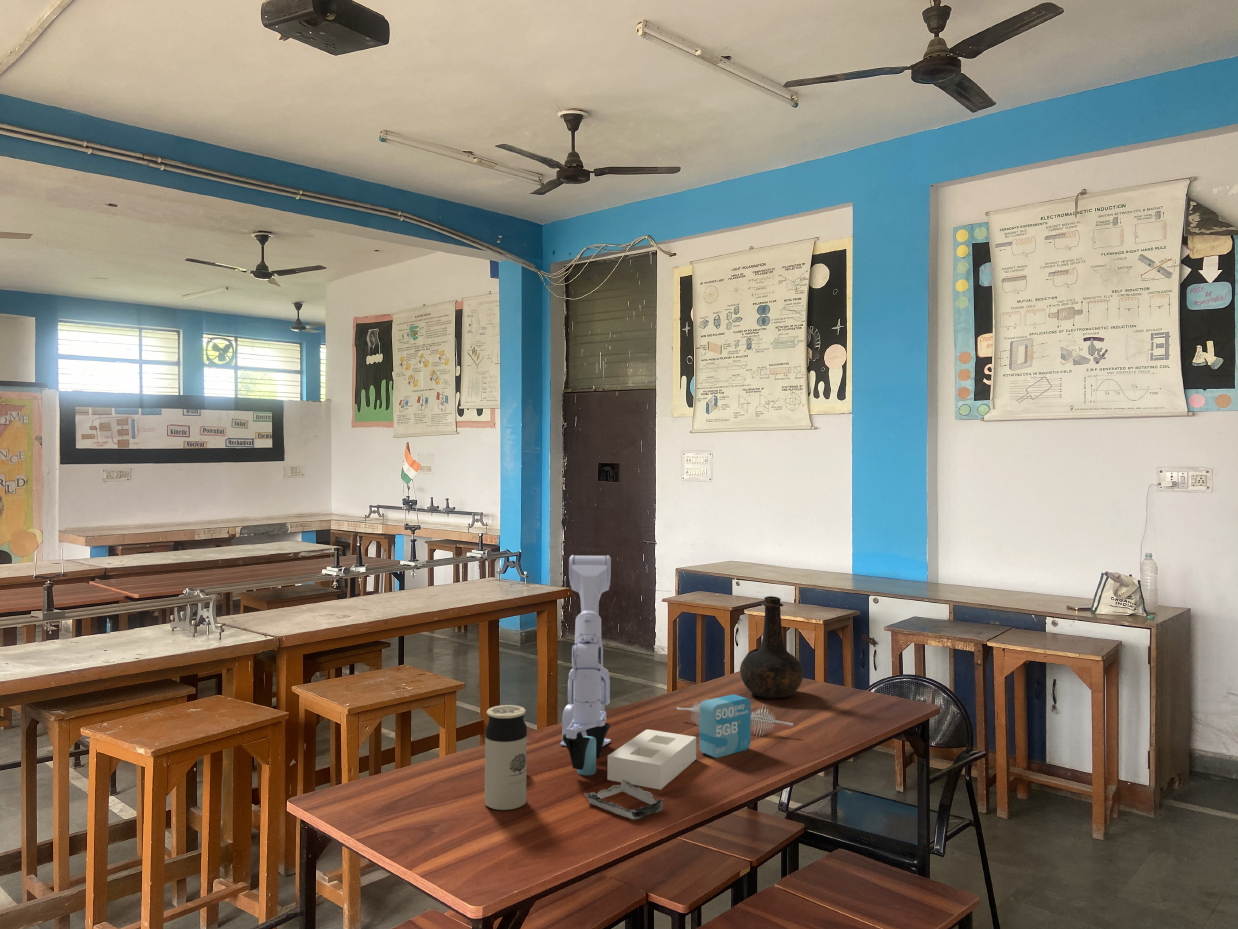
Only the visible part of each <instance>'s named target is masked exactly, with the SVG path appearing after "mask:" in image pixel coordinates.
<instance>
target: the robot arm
mask: <svg viewBox="0 0 1238 929" xmlns="http://www.w3.org/2000/svg"><path fill="white" fill-rule="evenodd" d="M570 555H571V556H569V559H568V579H569V586H570V587H571V590H572V591H574V592H575V593H578V594H579V598H580V613H579V614H578V615H577V616H576V617H575V624H574V625H575V627H574V629H575V630H574V645H572V648H571V666H572V668H571V669H570V671H569V673H568V680H567V705H565V707H564V709H563V711H562V717H561V731H562V732H561V742H560V744H559V745H560V746H565V747H566V748H567V751H568V753H569V757H570V761H571V765H572V768H573V769H574V770H577V769H579V770H582V769H583V767H584V761H585V753H586V748H587V745H588V742H589V740H590V738H587V737H583V736H591V737H594V738H596V759H600V758H601V753H602V751H603V747H604V746H605V745H606V746H607V745H608V744H609V743H611V742H612V740H611V739H610V738H606V736H607V734H608V732H609V730H610V728H611V723H608V722H606V721H607V711H605V709H606V708H605V706H608V705H609V704H610V701H611V693H610V692H611V680H610V672H609V669H607V668H605V667H604V648H603V647H604V646H603V641H602V640H603V639H602V617H601V616H600V615H599V611H600V606H599V605H600V603H599V602H600V599H601V596H602V594H603V593H604V592H607V591H609V590H610V587H611V578H612V573H611V572H612V571H611V569H612V558H611V556H610V555H609V554H608V555H607V554H606V555H574V554H570ZM599 662H600V663H599Z"/></svg>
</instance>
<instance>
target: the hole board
mask: <svg viewBox="0 0 1238 929" xmlns="http://www.w3.org/2000/svg"><path fill="white" fill-rule="evenodd" d="M695 760H697V737H696V736H692V735H686V734H679V733H673V732H668V731H661V730H655V729H645V730H643V731H642V732H640V733H639V734H638V735H636V736H635V737H633V738H632V739H630V740H628V741H627V742H626V743H624V744H623V745H622V746H620V747H619V748H617V749H615V750H613V751H612V752H611V753H610V754H608V755H607V780H608V781H612V782H618V783H621V780H622V779H624V780H626V781H628V782H630V783H631V785H632V786H633V785H634V786H637V787H643V788H644V787H645V788H649V789H655V790H662V789H664V788H665V786H667V785H668V784H669V783H671V781H673V780H674V779H675V778H676V777H677V776H679V775H680V774H681V773H682V772H683V771H685V769H686V768H688V767H689V766H690V765H691V764H693V762H695Z"/></svg>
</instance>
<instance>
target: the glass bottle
mask: <svg viewBox="0 0 1238 929" xmlns="http://www.w3.org/2000/svg"><path fill="white" fill-rule="evenodd" d="M763 599H764V602H762V605H763V606H764V620H763V631H762V639H761V645H760V647H759V648H755V649H752V650H750V651H748V653H747V654H746V656H744V658H743V660H742V661H741V664H740V667H739V673H740V677H741V678H740V679H741V680H742V683H743V684H744V686H745V687H746V688H747V690H749V691H750V693H752V694H753V695H755V696H757V697H760V698H762V699H763V698H764V699H776V700H778V699H783V698H787V697H789V696H791V695H792V694H794V693H795V692H797V691H798V689H799V687H800V686H801V684H802V682H803V679H804V670H803V667H802V664H801V662H800V661H799V659H798V658H797V657H796V656H794V655H793V654H791V653H790V652H789V651H788V650H787V649H786V648H787V647H786V646H785V645H786V644H785V640H784V636H783V629H782V628H783V627H782V616H781V614H782V612H781V607H784V604H783V603H781V598H780V597H777V596H773V595H771V596H765V597H764V598H763Z"/></svg>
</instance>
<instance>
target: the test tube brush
mask: <svg viewBox="0 0 1238 929" xmlns="http://www.w3.org/2000/svg"><path fill="white" fill-rule="evenodd" d="M705 700H710V699H709V696H708V698H707V697H705V699H704V700H701V701H700V702H699V701H698V700H697V701H698V702H697V701H692V702H693V704H692V705H690V706H691V707H690V706H689V707H679V706H676V707H675V709H676V710H678V711H682V710H684V711H691V714H692V715H691V717H690V718H691V721H692V722H693V723H694V722H695V724H696V725H695V726H696V727H697V728H700V706H701V703H702V702H703V701H705ZM763 708H765V709H763ZM766 709H767V710H766ZM774 714H775V713H773V712H771V713H770V710H769V707H764V703H763V704H762V708H761V705H760V706H759V708H757V710H756V708H755V709H753V710H752V711H751V729H752V730H754V731H756V729H757V732H754V733H753V735H755V733H756V736H755V737H756V738H757V737H758V736H759V738H760V737H761V736H762V737H763V735H764V733H766V731H767V730H773V729H774V728H775V723H777V724H782V725H788V726H791V727H793V726H794V722H787V721H786V722H785V721H781V720H777V719H776V716H774ZM697 725H698V726H697ZM752 726H754V727H752ZM773 727H774V728H773ZM765 728H766V729H765ZM759 730H760V731H759ZM758 731H759V732H758ZM761 732H764V733H761ZM768 732H769V733H771V732H770V731H767V733H766V734H768ZM758 733H759V735H758Z"/></svg>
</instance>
